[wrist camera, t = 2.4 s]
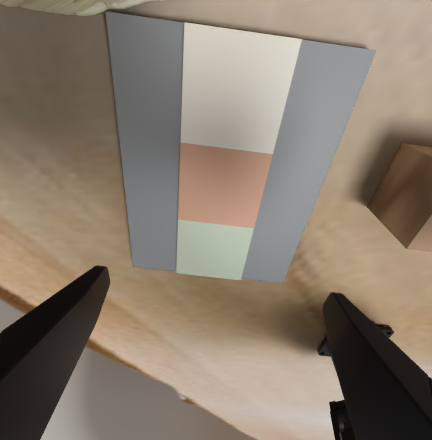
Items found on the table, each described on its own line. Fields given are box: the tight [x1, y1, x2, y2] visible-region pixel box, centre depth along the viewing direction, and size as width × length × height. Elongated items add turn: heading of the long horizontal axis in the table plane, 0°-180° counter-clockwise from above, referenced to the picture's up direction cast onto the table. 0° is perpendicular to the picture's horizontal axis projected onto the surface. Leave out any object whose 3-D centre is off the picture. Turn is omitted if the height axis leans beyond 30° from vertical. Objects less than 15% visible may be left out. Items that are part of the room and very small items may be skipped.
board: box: [105, 11, 376, 283], centre depth 18 cm, size 18×14×1 cm
